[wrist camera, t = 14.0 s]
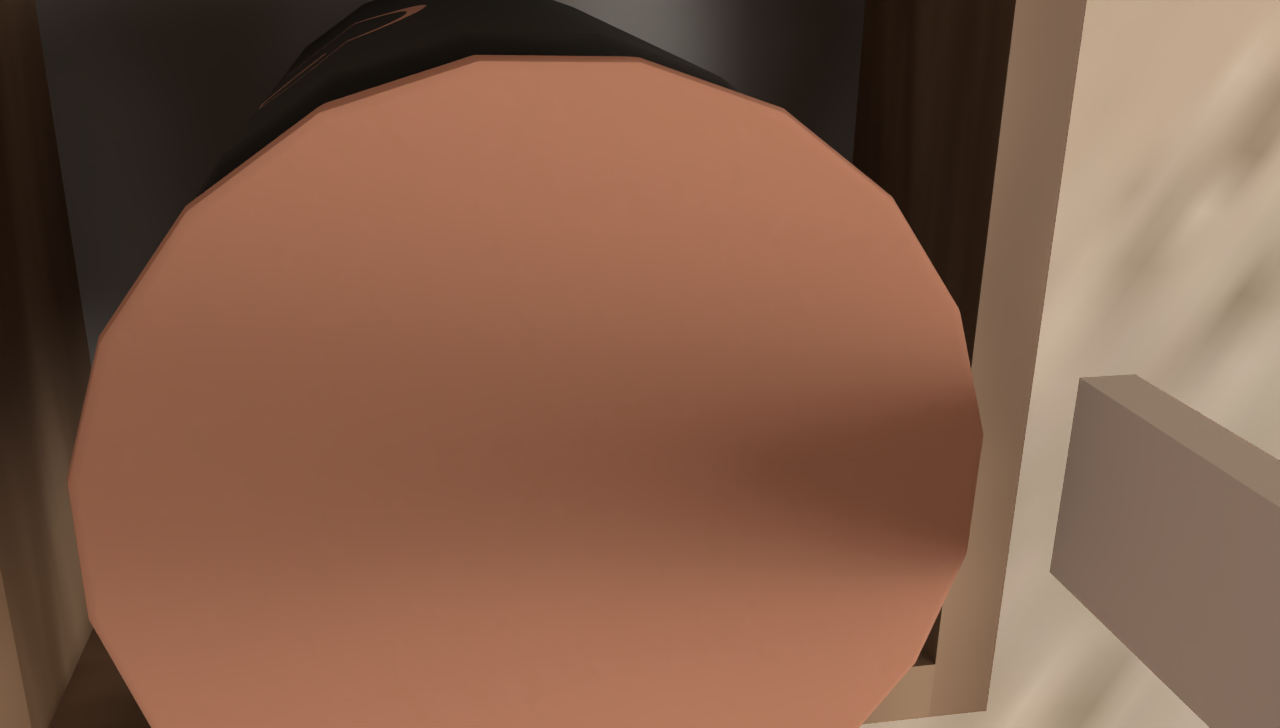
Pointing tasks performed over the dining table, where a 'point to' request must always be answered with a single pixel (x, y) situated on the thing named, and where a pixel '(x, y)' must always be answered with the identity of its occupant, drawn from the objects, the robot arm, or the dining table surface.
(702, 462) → the coffee jar
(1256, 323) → the dining table surface
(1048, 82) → the open wooden box
